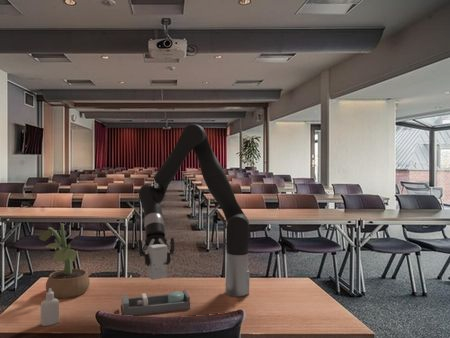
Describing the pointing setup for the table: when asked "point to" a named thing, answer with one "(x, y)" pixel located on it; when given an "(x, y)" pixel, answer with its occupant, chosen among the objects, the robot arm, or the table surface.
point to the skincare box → (157, 261)
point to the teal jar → (175, 297)
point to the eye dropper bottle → (49, 309)
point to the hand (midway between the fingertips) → (158, 264)
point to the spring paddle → (143, 300)
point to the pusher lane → (153, 304)
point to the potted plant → (65, 269)
